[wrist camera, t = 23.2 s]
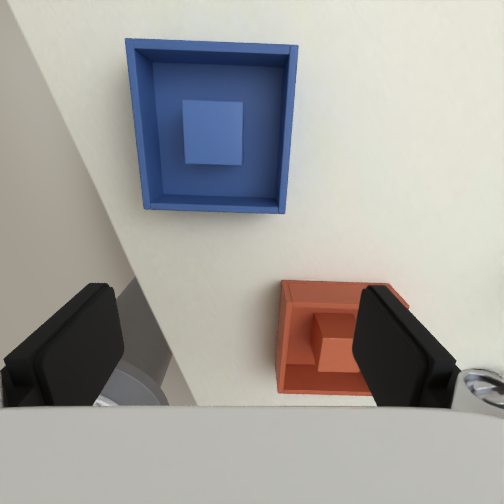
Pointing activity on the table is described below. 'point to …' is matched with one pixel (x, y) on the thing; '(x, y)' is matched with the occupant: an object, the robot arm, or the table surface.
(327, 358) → the terracotta block
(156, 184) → the blue bin
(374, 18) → the table surface
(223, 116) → the blue block
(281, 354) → the terracotta bin
